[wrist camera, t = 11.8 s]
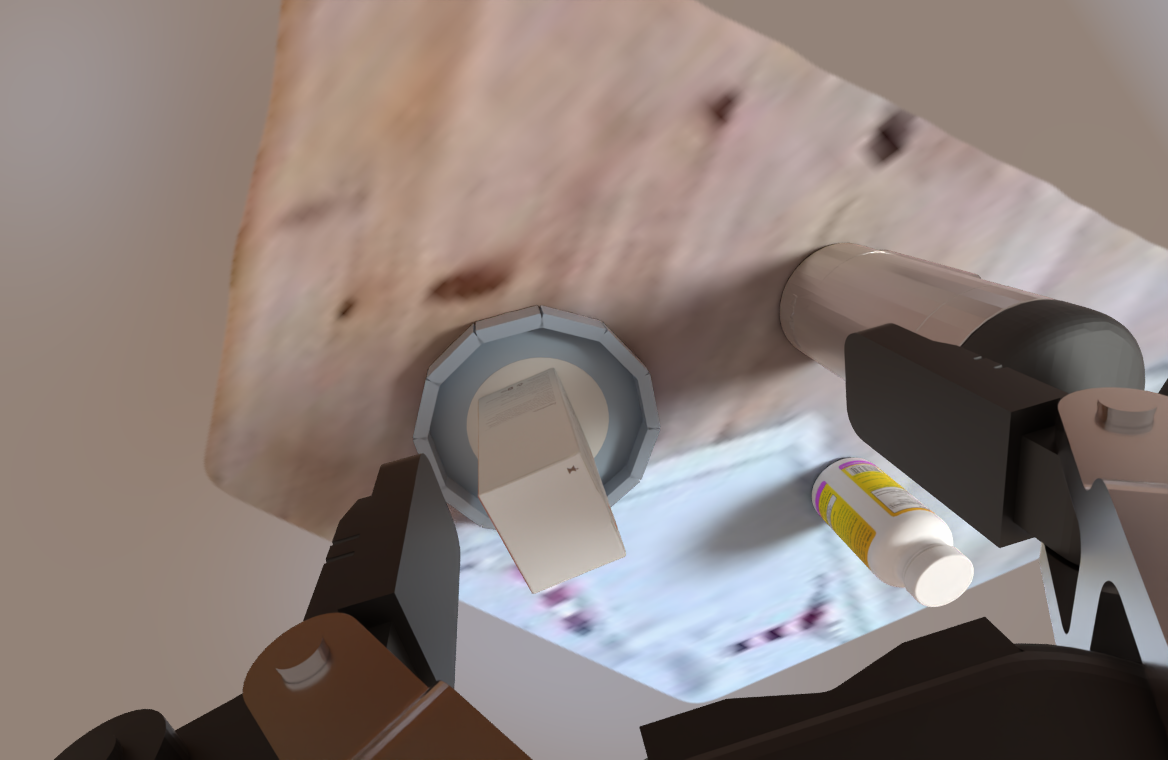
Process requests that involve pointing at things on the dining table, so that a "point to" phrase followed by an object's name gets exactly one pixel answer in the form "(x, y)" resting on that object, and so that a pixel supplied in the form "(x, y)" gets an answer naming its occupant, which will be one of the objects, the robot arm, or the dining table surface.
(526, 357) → the grey shallow round dish
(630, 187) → the dining table surface
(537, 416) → the small box
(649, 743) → the robot arm
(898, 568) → the supplement bottle
